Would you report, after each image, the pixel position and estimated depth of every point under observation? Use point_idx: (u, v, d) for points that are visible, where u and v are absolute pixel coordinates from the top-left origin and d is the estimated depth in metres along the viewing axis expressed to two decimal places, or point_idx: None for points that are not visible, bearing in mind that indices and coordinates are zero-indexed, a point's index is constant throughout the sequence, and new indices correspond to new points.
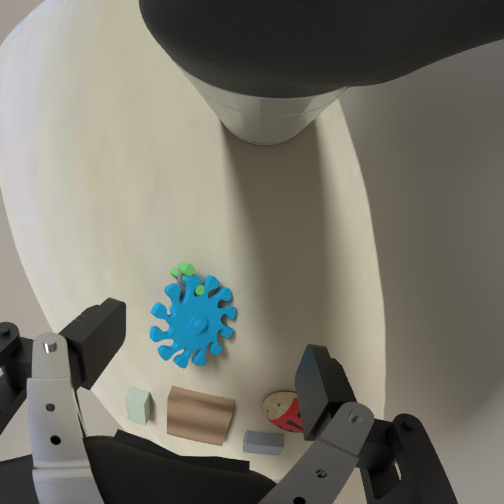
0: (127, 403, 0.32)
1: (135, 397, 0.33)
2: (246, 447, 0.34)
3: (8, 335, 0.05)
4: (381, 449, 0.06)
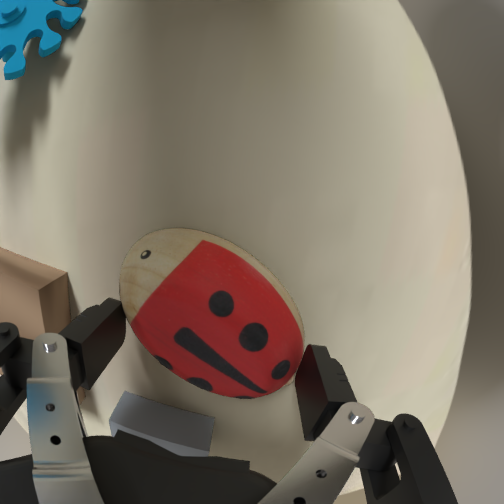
0: None
1: None
2: (114, 432, 0.12)
3: (8, 335, 0.05)
4: (381, 449, 0.06)
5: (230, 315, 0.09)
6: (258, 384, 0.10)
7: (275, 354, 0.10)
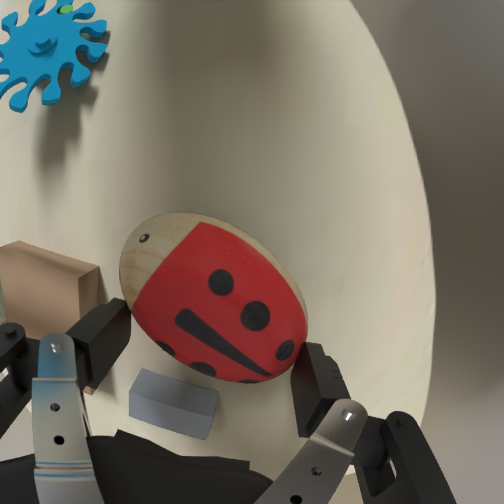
0: None
1: None
2: (131, 403, 0.15)
3: (14, 335, 0.06)
4: (375, 446, 0.06)
5: (231, 293, 0.09)
6: (262, 366, 0.10)
7: (278, 333, 0.10)
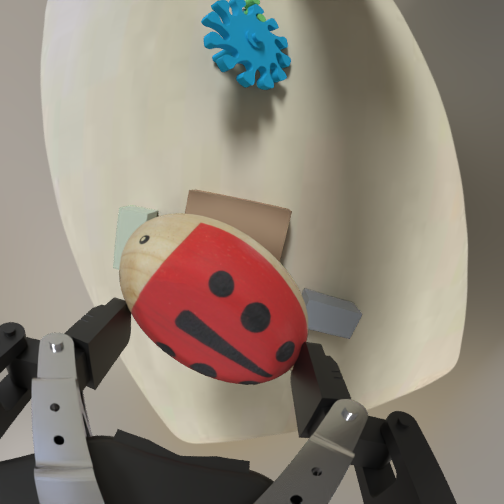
0: (119, 221, 0.23)
1: (135, 209, 0.24)
2: None
3: (14, 335, 0.06)
4: (375, 446, 0.06)
5: (231, 295, 0.09)
6: (262, 368, 0.10)
7: (278, 335, 0.10)
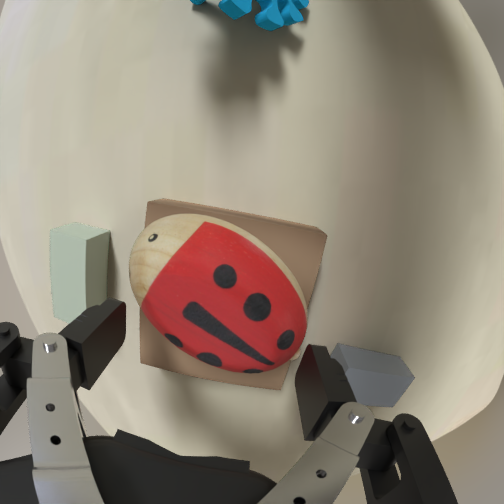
0: (52, 250, 0.13)
1: (73, 231, 0.13)
2: None
3: (8, 335, 0.05)
4: (381, 449, 0.06)
5: (234, 286, 0.10)
6: (265, 356, 0.11)
7: (279, 324, 0.11)
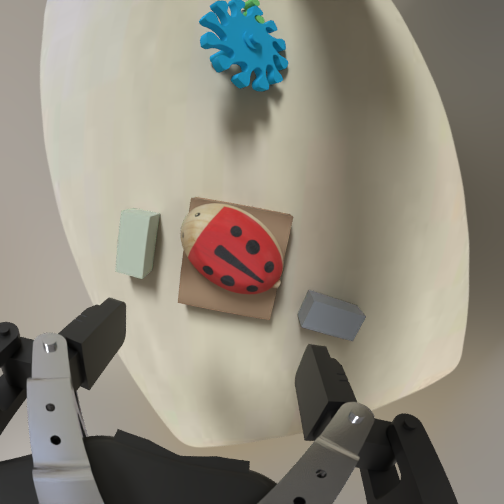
0: (122, 224, 0.23)
1: (137, 212, 0.23)
2: (310, 313, 0.25)
3: (8, 335, 0.05)
4: (381, 449, 0.06)
5: (240, 236, 0.20)
6: (258, 275, 0.21)
7: (264, 256, 0.21)
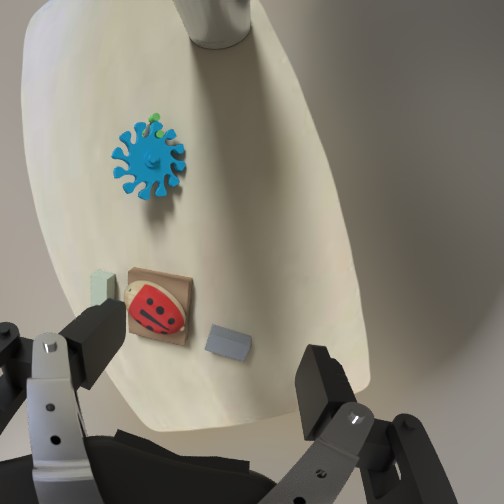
0: (91, 282, 0.35)
1: (100, 275, 0.35)
2: (209, 341, 0.37)
3: (8, 335, 0.05)
4: (381, 449, 0.06)
5: (152, 304, 0.32)
6: (165, 326, 0.33)
7: (167, 315, 0.33)
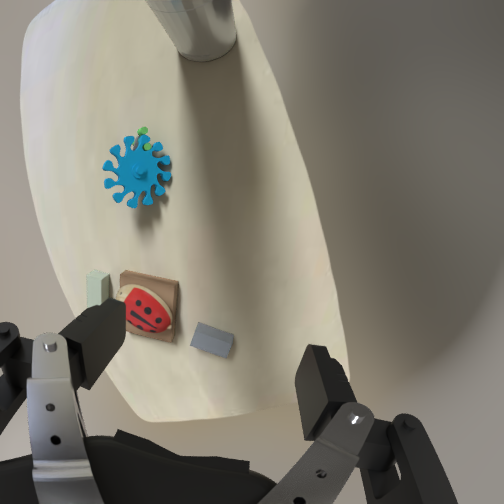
0: (87, 282, 0.38)
1: (95, 275, 0.38)
2: (194, 338, 0.39)
3: (8, 335, 0.05)
4: (381, 449, 0.06)
5: (141, 305, 0.35)
6: (153, 325, 0.36)
7: (154, 315, 0.36)
